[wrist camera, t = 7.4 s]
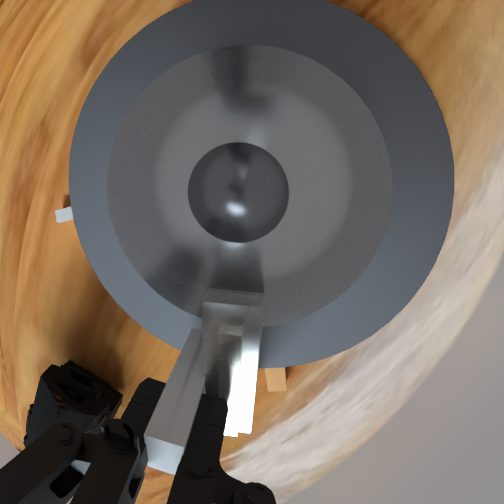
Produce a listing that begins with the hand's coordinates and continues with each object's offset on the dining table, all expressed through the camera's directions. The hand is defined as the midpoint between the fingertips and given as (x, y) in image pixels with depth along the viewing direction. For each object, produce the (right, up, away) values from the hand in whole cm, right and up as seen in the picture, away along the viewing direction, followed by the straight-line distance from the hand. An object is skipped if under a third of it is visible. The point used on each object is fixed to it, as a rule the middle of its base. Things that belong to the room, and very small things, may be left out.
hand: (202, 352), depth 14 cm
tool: (-14, -11, +9) cm, 20 cm away
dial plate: (+1, +8, +1) cm, 8 cm away
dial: (+2, +5, -1) cm, 6 cm away
